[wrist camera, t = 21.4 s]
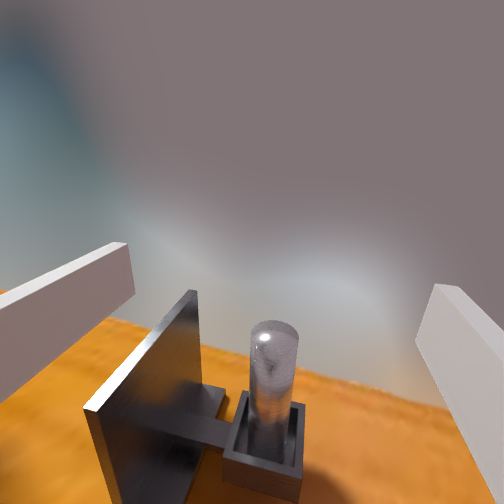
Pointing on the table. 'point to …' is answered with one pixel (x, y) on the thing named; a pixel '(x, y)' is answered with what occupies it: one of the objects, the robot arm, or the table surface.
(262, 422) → the rail post
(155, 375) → the cup bracket
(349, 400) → the table surface
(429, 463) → the table surface
